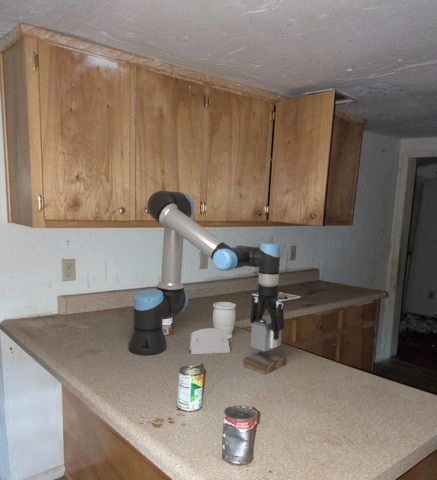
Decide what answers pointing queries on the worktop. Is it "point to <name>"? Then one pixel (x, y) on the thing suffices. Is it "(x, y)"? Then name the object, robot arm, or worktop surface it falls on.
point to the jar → (224, 316)
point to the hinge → (209, 341)
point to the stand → (264, 361)
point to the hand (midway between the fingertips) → (265, 344)
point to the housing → (263, 334)
